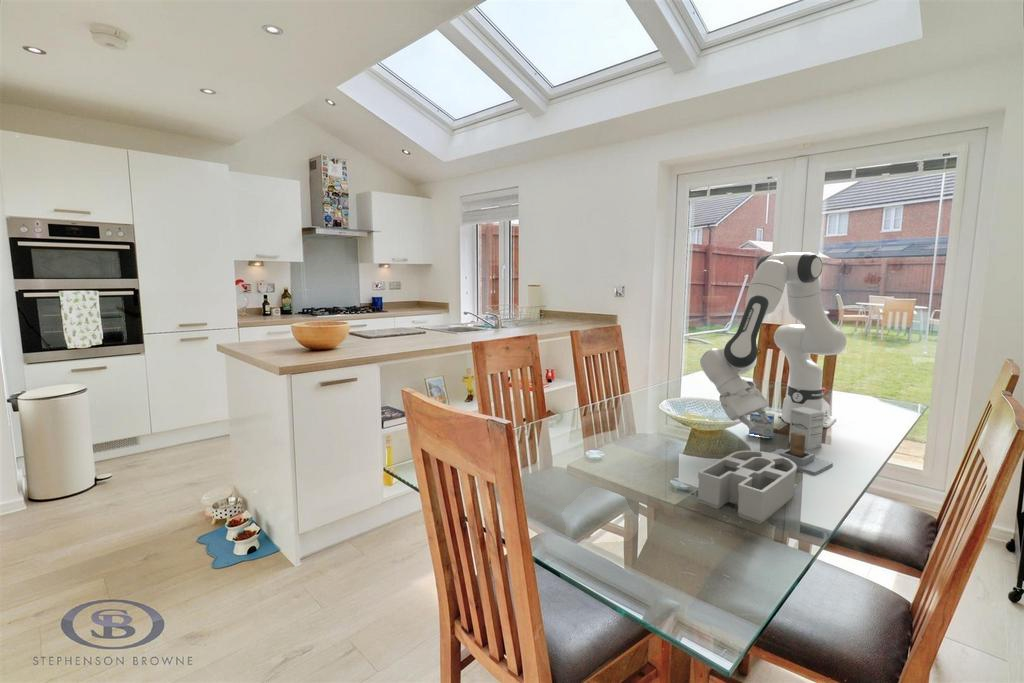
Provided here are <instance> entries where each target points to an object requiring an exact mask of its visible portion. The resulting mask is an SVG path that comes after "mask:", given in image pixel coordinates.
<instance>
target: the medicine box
mask: <svg viewBox="0 0 1024 683" xmlns="http://www.w3.org/2000/svg"><path fill="white" fill-rule="evenodd" d="M766 414H767V416H768V418H769V419H770V421H768V422H767V423H763V421H762V420H761V419H762V418H761V415H760V414H758V413H757V412H755V413H753V414H750V415H749V420H750V421H751V422H752V421H753V423H754V424H755V427H754V428H752V429H749V428H748V435H749V434H754V435H759V436H764V437H769V438H773V437H774V426H775V425H774V423H775V422H774V421H775V413H769V412H768V413H767V412H766Z"/></svg>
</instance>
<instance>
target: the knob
mask: <svg viewBox="0 0 1024 683" xmlns="http://www.w3.org/2000/svg"><path fill="white" fill-rule="evenodd" d="M805 438H806V435H805V434H803V433H798V432H792V433H791V441H790V443H789V449H790V455H792V456H796V457H799V458H804V452H806V451H805V450H806V449H805Z"/></svg>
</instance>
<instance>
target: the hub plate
mask: <svg viewBox="0 0 1024 683" xmlns="http://www.w3.org/2000/svg"><path fill="white" fill-rule="evenodd" d="M770 453H773V454H777V455H780V456H783V457H785V458H788V459H790V460H791V461H793V462H794V463H795V464H796V466H797V470H796V471H799V472H801V473H805V474H808V475H811V476H814V477H815V476H816V475H818V474H821V473H822V472H824V471H826V470H828V469H830V468H832V467H833V462H830V461H827V460H824V459H821V458H820V459H819V458H815V453H811V452H807V451H804V458H799V457H796V456H792V455H790V448H787V449H784V448H778V449H776V450H774V451H771V452H770Z"/></svg>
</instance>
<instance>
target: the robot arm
mask: <svg viewBox="0 0 1024 683" xmlns="http://www.w3.org/2000/svg"><path fill="white" fill-rule="evenodd" d="M822 271H823V261H822V258H821V257H820V256H819V255H818V254H816V253H812V252H785V253H776V254H774V253H773V254H771V253H770V254H766V255H764V256H762V257H760V258H759V259H758V261H757V262H756V266H755V272H754V273H753V276H752V277H751V279H750V280H751V281H750V283H749V286H748V289H747V291H746V292H747V293H746V296H745V306H744V307H745V308H744V313H743V316H742V318H741V320H740V323H739V325H738V328H737V331H736V333H735V334H734V335H733V336H732V337H731V338H730V339H729V341H727V342H726V344H725V346H724V347H723V348H711V349H708V350H707V351H706V352H704V354H702V356H701V358H700V359H699V360H700V361H699V365H700V368H701V369H702V372H704V374H705V376H706V377H707V379H708V380H709V381H710V382H711V383H712V384H713V385H714V386H715V388H716V391H717V392H718V393H719V394H720V395H719V402H720V405H721V407H722V409H723V410H724V413H725V414H726V416H727V418H728V419H730V421H736V420H739V421H740V422H741V423H742V424H744V425H745V426H746V427H747V428H748V430H749V429H752V428H754V427H755V424H754V423H753V421H752V422H751V421H750V418H748V416H750V414H753V413H755V412H757V413H758V414H760V415H761V418H762V419H761V420H762V421H763V423H767V422H768V421H770V419H769V418H768V416H767V414H766V413H767V411H766V408H767V407H768V406H769V403H768V400H767V398H765V397H764V395H763V394H762V392H761V391H760V390H759V389H758V387H757V388H756V383H754V382H753V381H752V380H751V381H750V380H746V379H743V378H742V377H741V375H743V374H745V373H748V372H749V371H751V370H753V369H755V367H756V365H757V362H758V344H757V338H758V335H759V333H760V330H761V327H762V324H763V322H764V320H765V318H766V316H768V315H770V314H771V313H773V312H774V311H776V309H777V307H778V305H779V303H780V301H781V299H782V296H783V294H784V289H785V287H786V293H787V295H786V296H787V302H788V303H787V304H788V311H789V314H790V315H791V316H792V317H793V318H794V319H796V320H798V321H799V322H800V323H801V324H796V323H794V324H793V323H792V324H783V325H782V324H781V325H780V326H779V327H777V328H776V330H775V332H774V334H773V341H774V343H775V345H776V347H777V348H779V349H780V350H781V352H782V353H783V354H784V356H785V358H786V360H787V362H788V367H789V385H788V386H787V390H786V391H787V393H786V394H787V396H786V397H785V398H783V402H782V403H783V404H782V409H781V413H779V414H778V416H779V417H778V418H780V417H781V418H780V419H781V420H782V419H783V420H784V421H783V420H782V421H783V422H785V423H787V424H790V419H791V409H794V408H799V407H807V408H811V409H815V410H819V411H822V412H824V419H823V428H824V429H825V428H826V429H827V428H828V429H829V428H830V426H832V424H834V423H835V422H836V420H837V417H836V416H833V415H830V414H831V405H830V404H829V403H828V402H827V401H826V399H824V394H825V393H826V392H827V391H826V390H827V389H826V388H825V387H822V385H823V375H824V374H823V369H822V366H820V365H819V364H817V363H816V362H815V361H813V359H812V358H811V356H810V354H811V355H820V356H834V355H835V356H836V355H840V354H841V353H842V352H843V351H844V350H845V348H846V346H847V336H846V333H844V331H843V330H842V329H840V328H838V327H837V326H836V325H835V324H833V323H832V322H831V320H830V319H829V318H828V315H827V314H826V312H825V309H824V304H823V298H822V291H821V290H822V289H821V281H820V276H821V275H822Z"/></svg>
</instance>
